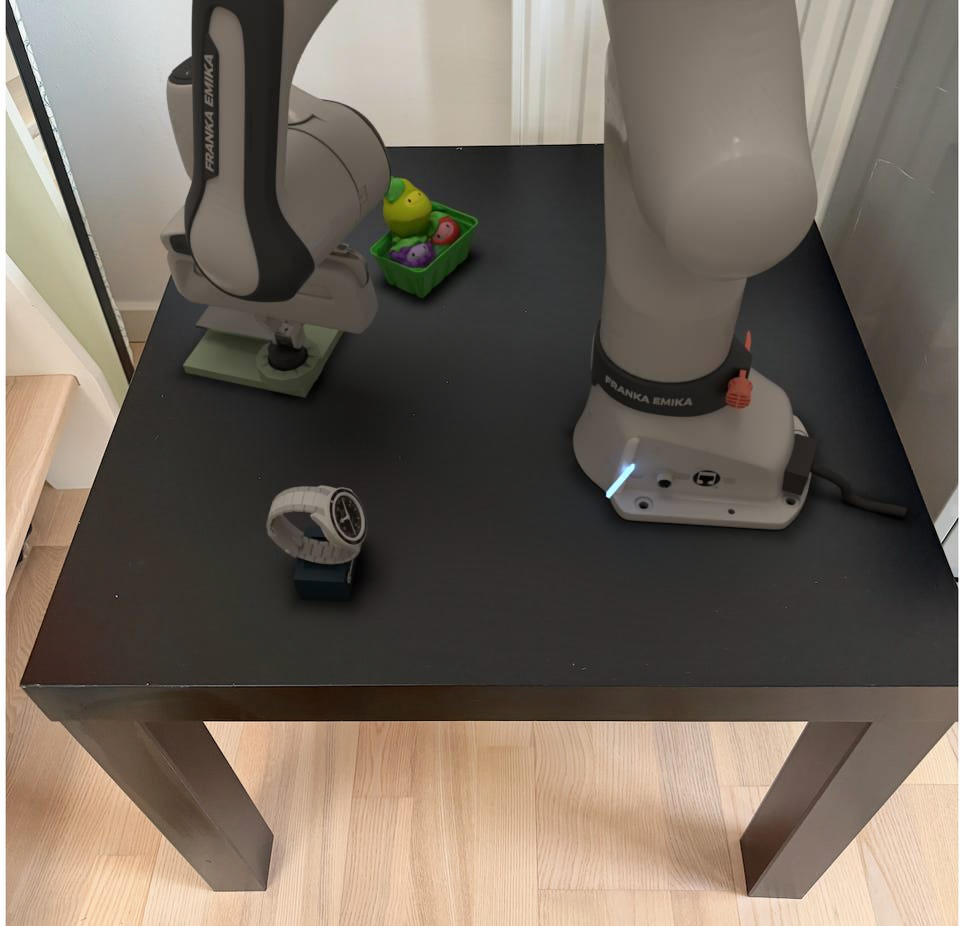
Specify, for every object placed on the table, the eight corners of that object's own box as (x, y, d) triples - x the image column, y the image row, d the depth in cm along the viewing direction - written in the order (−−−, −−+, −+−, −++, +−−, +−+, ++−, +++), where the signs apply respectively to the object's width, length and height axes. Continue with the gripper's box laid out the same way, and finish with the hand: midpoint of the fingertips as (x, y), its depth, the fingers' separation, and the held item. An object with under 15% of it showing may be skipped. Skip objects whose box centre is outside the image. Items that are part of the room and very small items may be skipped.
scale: (355, 323, 101) (351, 303, 99) (309, 404, 93) (303, 384, 91) (236, 301, 104) (230, 280, 102) (182, 378, 96) (174, 357, 94)
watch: (371, 602, 78) (353, 528, 70) (279, 597, 79) (251, 523, 70) (381, 548, 82) (365, 472, 73) (293, 544, 82) (267, 467, 74)
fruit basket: (424, 309, 102) (415, 225, 93) (364, 282, 105) (350, 198, 97) (482, 255, 108) (479, 172, 99) (423, 231, 111) (415, 148, 102)
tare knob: (311, 350, 95) (308, 338, 93) (297, 374, 92) (294, 362, 91) (280, 344, 95) (276, 332, 94) (265, 367, 93) (261, 355, 92)
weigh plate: (303, 294, 100) (302, 291, 99) (272, 342, 95) (271, 339, 95) (230, 280, 102) (229, 278, 101) (195, 327, 97) (194, 324, 97)
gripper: (377, 226, 81) (395, 340, 92) (178, 194, 86) (217, 305, 97) (349, 270, 78) (372, 383, 88) (143, 233, 82) (188, 345, 93)
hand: (289, 342), depth 93 cm, fingers closed
